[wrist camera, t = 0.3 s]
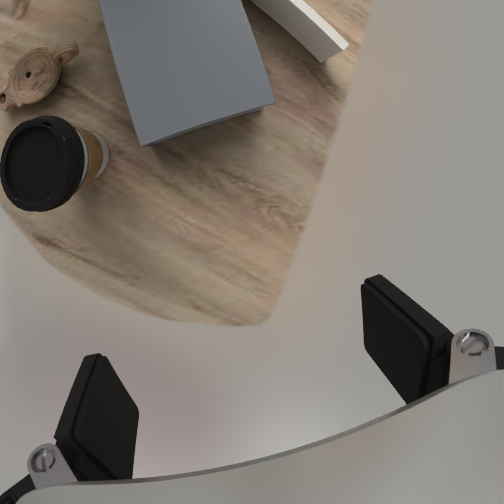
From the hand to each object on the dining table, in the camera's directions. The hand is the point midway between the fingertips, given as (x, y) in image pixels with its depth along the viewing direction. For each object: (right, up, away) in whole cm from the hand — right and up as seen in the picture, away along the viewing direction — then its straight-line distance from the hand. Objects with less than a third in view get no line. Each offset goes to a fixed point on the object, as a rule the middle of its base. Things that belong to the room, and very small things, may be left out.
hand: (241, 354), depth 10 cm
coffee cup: (-20, +15, +24) cm, 34 cm away
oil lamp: (-26, +26, +19) cm, 41 cm away
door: (+3, +33, +21) cm, 40 cm away
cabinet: (-8, +27, +21) cm, 35 cm away
